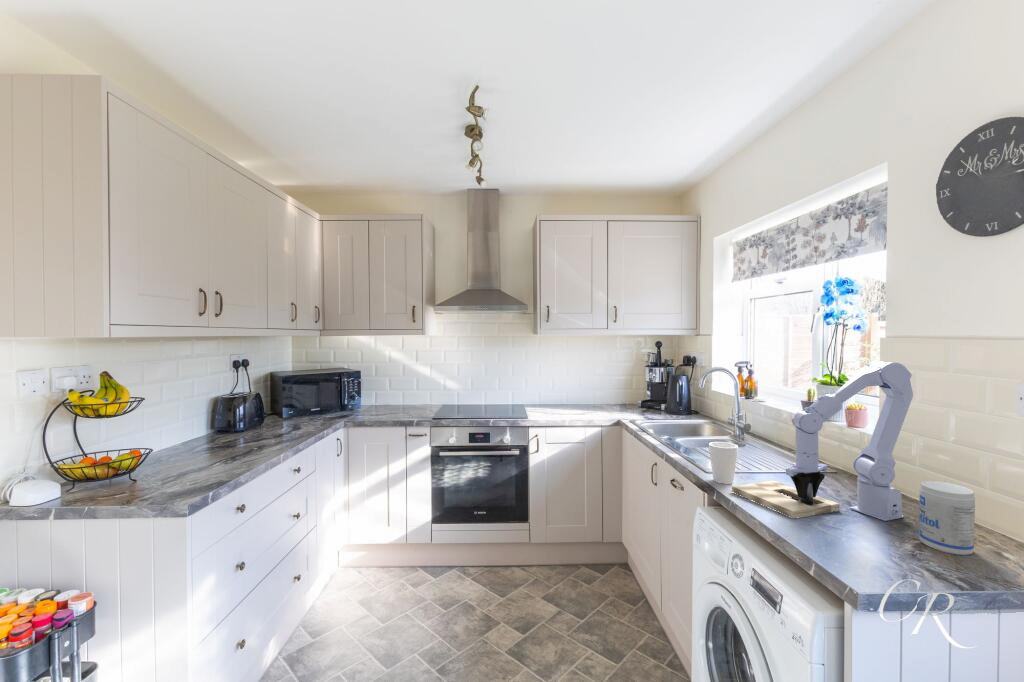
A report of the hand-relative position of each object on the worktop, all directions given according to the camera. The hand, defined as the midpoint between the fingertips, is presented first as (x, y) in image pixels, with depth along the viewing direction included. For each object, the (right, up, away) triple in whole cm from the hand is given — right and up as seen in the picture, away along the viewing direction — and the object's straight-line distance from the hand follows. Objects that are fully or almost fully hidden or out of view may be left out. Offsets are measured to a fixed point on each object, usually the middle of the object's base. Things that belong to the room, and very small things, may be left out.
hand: (806, 497), depth 131 cm
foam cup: (-13, -3, +24) cm, 28 cm away
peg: (0, -3, 0) cm, 3 cm away
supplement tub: (+17, -3, -25) cm, 30 cm away
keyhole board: (-4, -3, +5) cm, 7 cm away
